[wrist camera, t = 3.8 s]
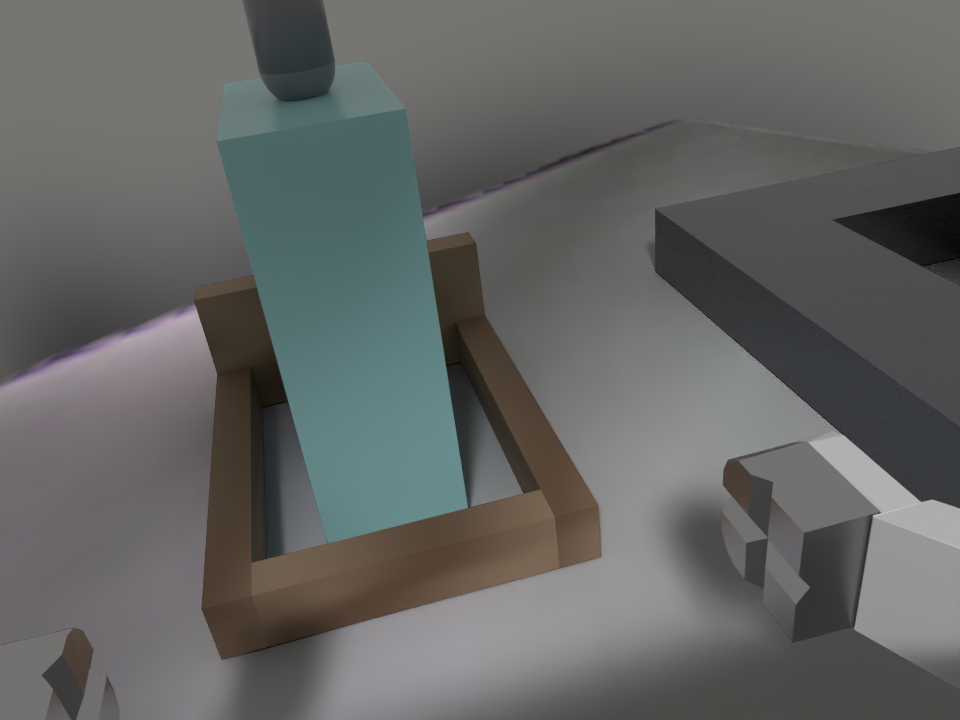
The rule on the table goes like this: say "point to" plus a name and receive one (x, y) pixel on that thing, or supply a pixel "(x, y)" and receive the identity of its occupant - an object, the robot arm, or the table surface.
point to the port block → (842, 301)
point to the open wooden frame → (393, 551)
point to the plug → (342, 273)
